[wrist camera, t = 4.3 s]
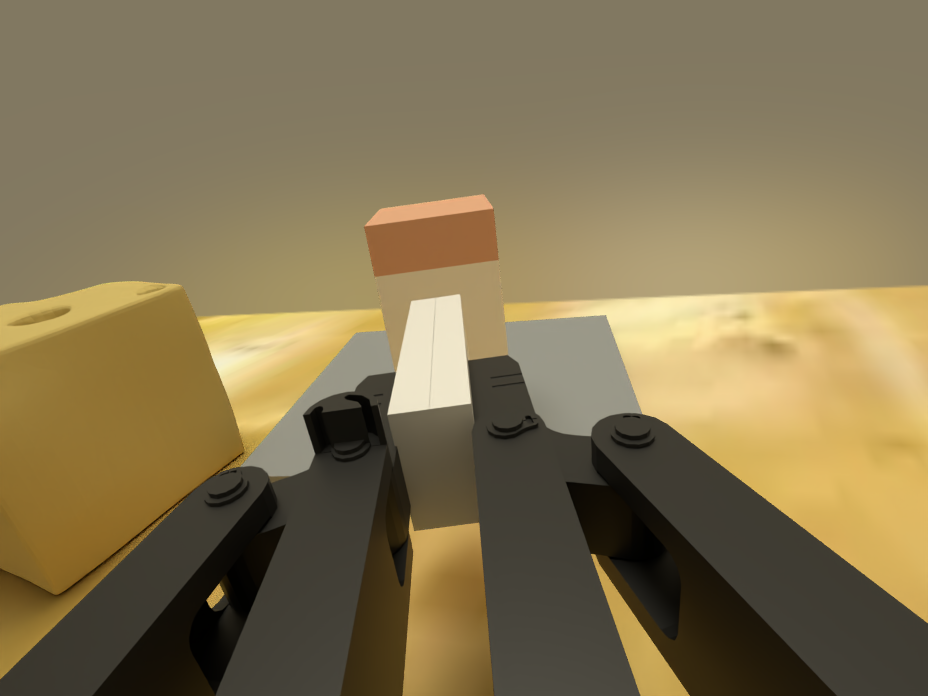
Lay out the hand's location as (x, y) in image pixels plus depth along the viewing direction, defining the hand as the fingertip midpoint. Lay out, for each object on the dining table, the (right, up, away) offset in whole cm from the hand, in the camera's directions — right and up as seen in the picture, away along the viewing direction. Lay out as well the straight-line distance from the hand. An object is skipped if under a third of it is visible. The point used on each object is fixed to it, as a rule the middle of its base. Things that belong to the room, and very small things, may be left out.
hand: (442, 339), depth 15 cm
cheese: (-17, -8, +10) cm, 22 cm away
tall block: (+1, -4, +10) cm, 11 cm away
